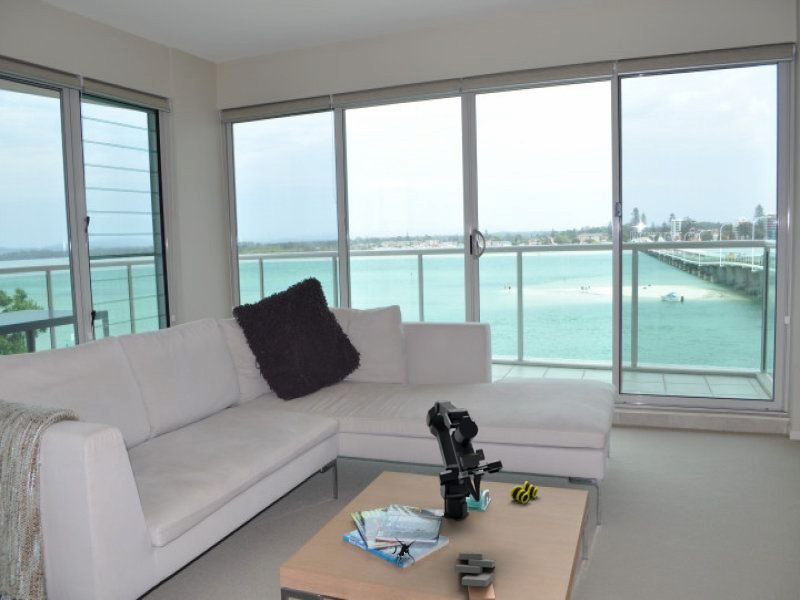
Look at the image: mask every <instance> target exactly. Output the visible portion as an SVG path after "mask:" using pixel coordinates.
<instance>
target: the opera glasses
mask: <svg viewBox="0 0 800 600" xmlns="http://www.w3.org/2000/svg"><path fill="white" fill-rule="evenodd" d="M538 492H539V488H538V487H536V486H534V485H533V484H530V483H529V482H528V481H527V480H526V481H525V482H524V484H523V486H520V485H517V486H514V487H513V488H512V489H511V491H510V498H511V499H512V500H514V501H515V500H517V502H520V503H522V504H526V503H528V501H529V500H530V497H531V498H536V497H537V495H538Z"/></svg>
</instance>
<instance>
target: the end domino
mask: <svg viewBox="0 0 800 600" xmlns="http://www.w3.org/2000/svg"><path fill="white" fill-rule="evenodd" d="M493 585H494V584H493V581H491V582H490V583H489V584H488V585H487V586H486V587H485V586H471V585H467V588H468V589H467V590H468V596H469V597H468V598H469V600H496V597H495V591H494V587H493Z"/></svg>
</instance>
